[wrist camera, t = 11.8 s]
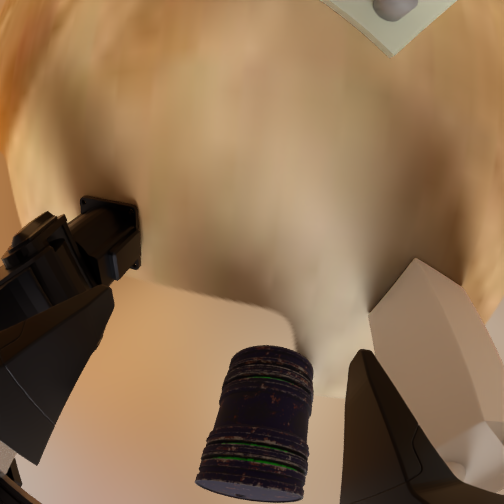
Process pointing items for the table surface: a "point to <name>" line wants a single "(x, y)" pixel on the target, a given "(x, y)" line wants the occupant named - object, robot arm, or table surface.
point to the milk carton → (444, 371)
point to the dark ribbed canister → (261, 428)
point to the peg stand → (390, 19)
